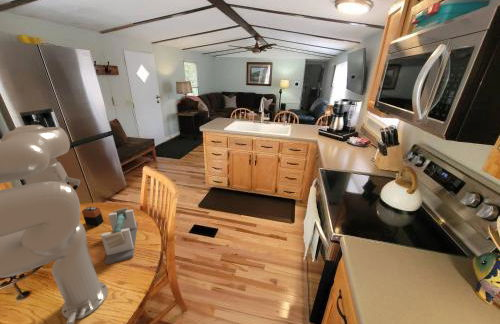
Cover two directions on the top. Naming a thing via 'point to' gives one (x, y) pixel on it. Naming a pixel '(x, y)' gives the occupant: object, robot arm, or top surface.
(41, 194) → the robot arm
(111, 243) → the dowel bar
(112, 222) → the stand
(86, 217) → the battery
